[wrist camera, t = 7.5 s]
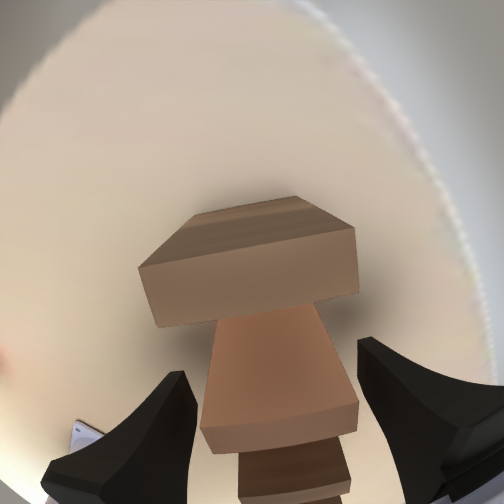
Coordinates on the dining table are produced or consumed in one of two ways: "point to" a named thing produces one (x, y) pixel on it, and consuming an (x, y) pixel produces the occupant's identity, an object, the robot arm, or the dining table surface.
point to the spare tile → (275, 383)
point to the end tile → (250, 262)
